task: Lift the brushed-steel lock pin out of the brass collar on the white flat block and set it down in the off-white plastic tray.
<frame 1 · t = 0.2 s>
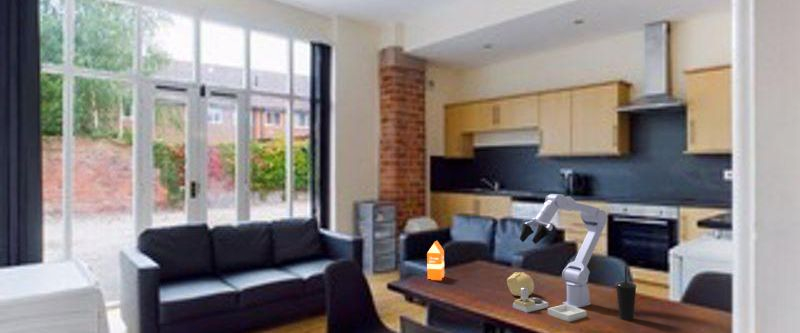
hand: (527, 241, 192), 31 cm above the table, tool tilted 45°, fingers open, 7 cm apart
white flat block: (530, 307, 203), on the table
tray: (566, 315, 191), on the table
lock pin: (524, 304, 201), point 2 cm above the table, touching white flat block
drinking cup: (626, 319, 187), on the table
sculpture: (520, 295, 222), on the table
orange juice: (436, 278, 257), on the table
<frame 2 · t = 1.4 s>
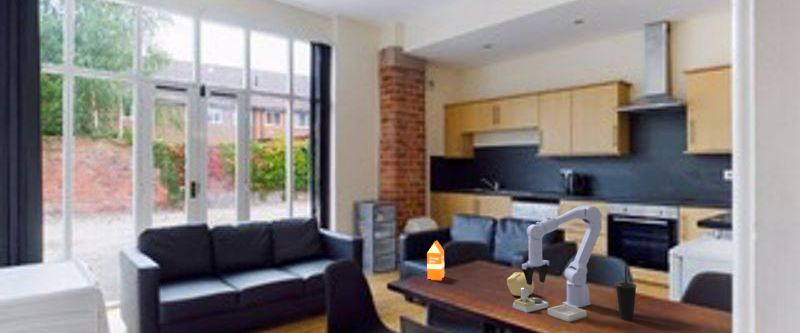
hand: (535, 283, 205), 10 cm above the table, tool pointing down, fingers open, 7 cm apart
nothing on the table moved.
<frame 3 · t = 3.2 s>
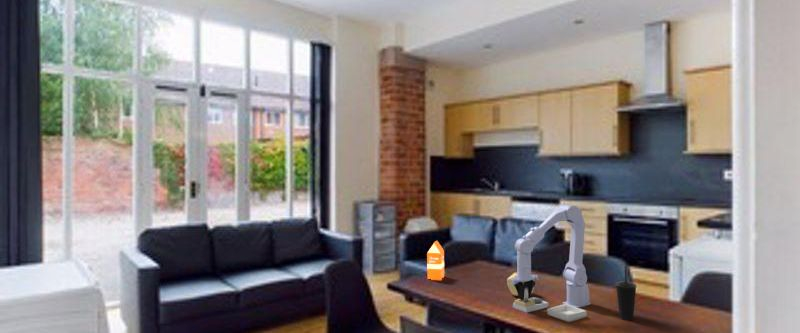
hand: (524, 298, 201), 4 cm above the table, tool pointing down, fingers closed on lock pin, 3 cm apart
lock pin: (524, 304, 201), point 2 cm above the table, touching gripper, white flat block
everything else where it was.
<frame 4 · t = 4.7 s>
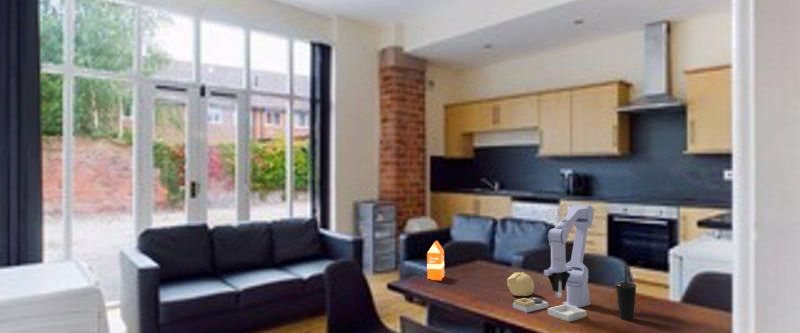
hand: (558, 290, 193), 10 cm above the table, tool pointing down, fingers closed on lock pin, 3 cm apart
lock pin: (558, 296, 193), point 7 cm above the table, touching gripper
everything else where it was.
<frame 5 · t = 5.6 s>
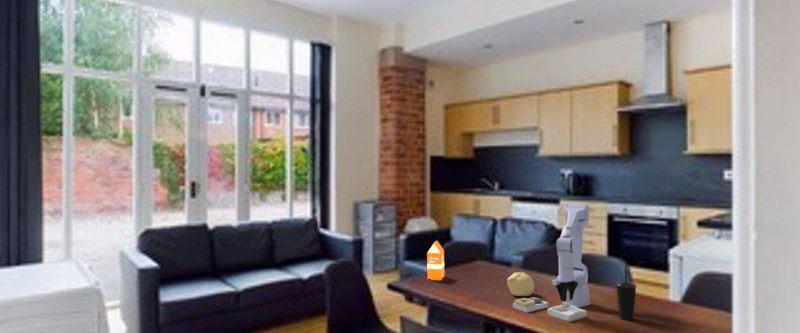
hand: (566, 300, 191), 6 cm above the table, tool pointing down, fingers closed on lock pin, 3 cm apart
lock pin: (566, 306, 191), point 4 cm above the table, touching gripper
everything else where it was.
when the fingers open (4 cm above the table, at t = 6.3 s): lock pin drops 1 cm, resting on tray.
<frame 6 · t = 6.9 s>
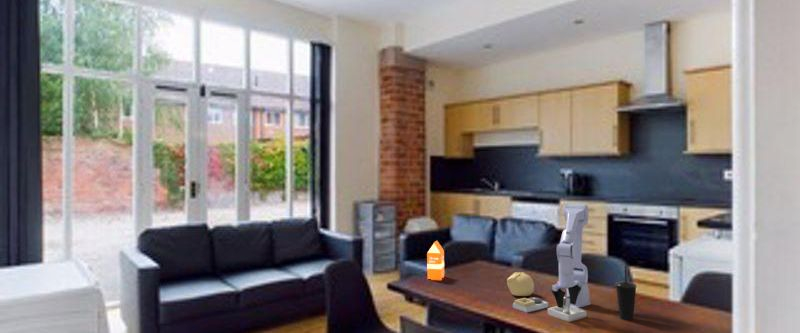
hand: (566, 305, 191), 4 cm above the table, tool pointing down, fingers open, 7 cm apart
lock pin: (566, 314, 191), point 1 cm above the table, touching tray
everything else where it was.
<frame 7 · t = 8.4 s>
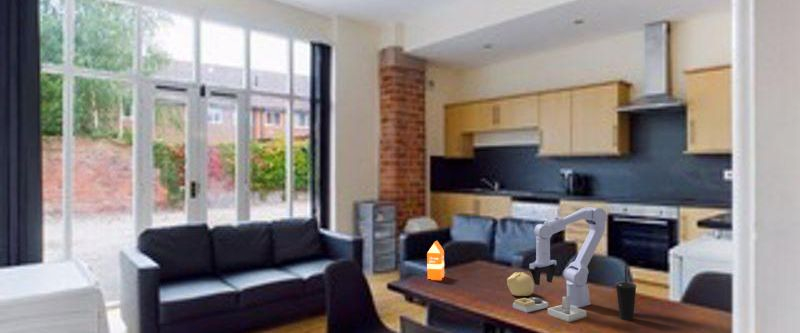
hand: (543, 283, 203), 10 cm above the table, tool pointing down, fingers open, 7 cm apart
nothing on the table moved.
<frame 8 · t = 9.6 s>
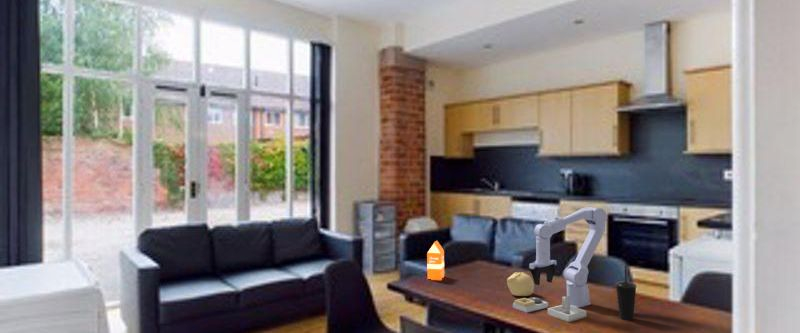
hand: (543, 283, 203), 10 cm above the table, tool pointing down, fingers open, 7 cm apart
nothing on the table moved.
at the end: lock pin inside the target area on the tray (0.3 cm from its centre), point 0.6 cm above the tray's base; the gripper is holding nothing; lock pin moved 17.5 cm from its start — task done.
